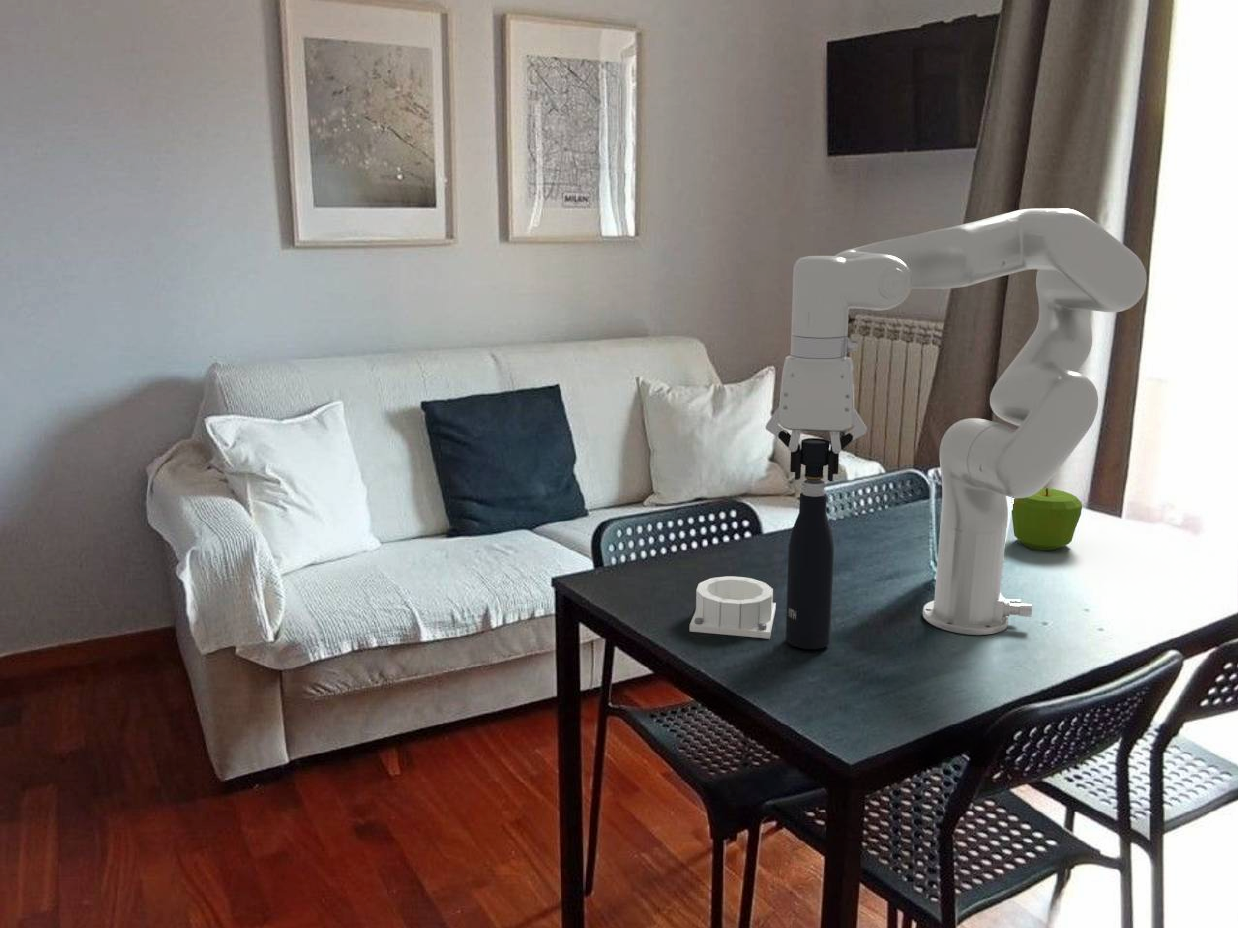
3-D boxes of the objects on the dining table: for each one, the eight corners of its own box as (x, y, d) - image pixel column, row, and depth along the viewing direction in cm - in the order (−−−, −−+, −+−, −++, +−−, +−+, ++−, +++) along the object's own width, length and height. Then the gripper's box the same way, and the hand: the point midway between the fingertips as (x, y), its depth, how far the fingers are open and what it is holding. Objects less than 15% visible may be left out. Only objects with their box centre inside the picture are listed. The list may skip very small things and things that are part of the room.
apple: (1088, 556, 190) (1095, 497, 187) (1021, 555, 190) (1027, 496, 187) (1060, 535, 202) (1066, 479, 199) (998, 534, 202) (1003, 479, 199)
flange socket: (775, 608, 164) (776, 579, 163) (769, 638, 153) (770, 607, 152) (700, 602, 167) (701, 573, 166) (689, 631, 155) (690, 600, 154)
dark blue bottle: (834, 635, 152) (843, 438, 145) (824, 652, 147) (832, 447, 139) (792, 628, 155) (799, 434, 148) (780, 644, 149) (786, 443, 142)
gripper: (881, 346, 142) (874, 474, 147) (759, 343, 146) (756, 468, 150) (882, 353, 135) (875, 488, 140) (754, 351, 139) (751, 482, 143)
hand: (814, 476), depth 145 cm, fingers closed on dark blue bottle, 3 cm apart
